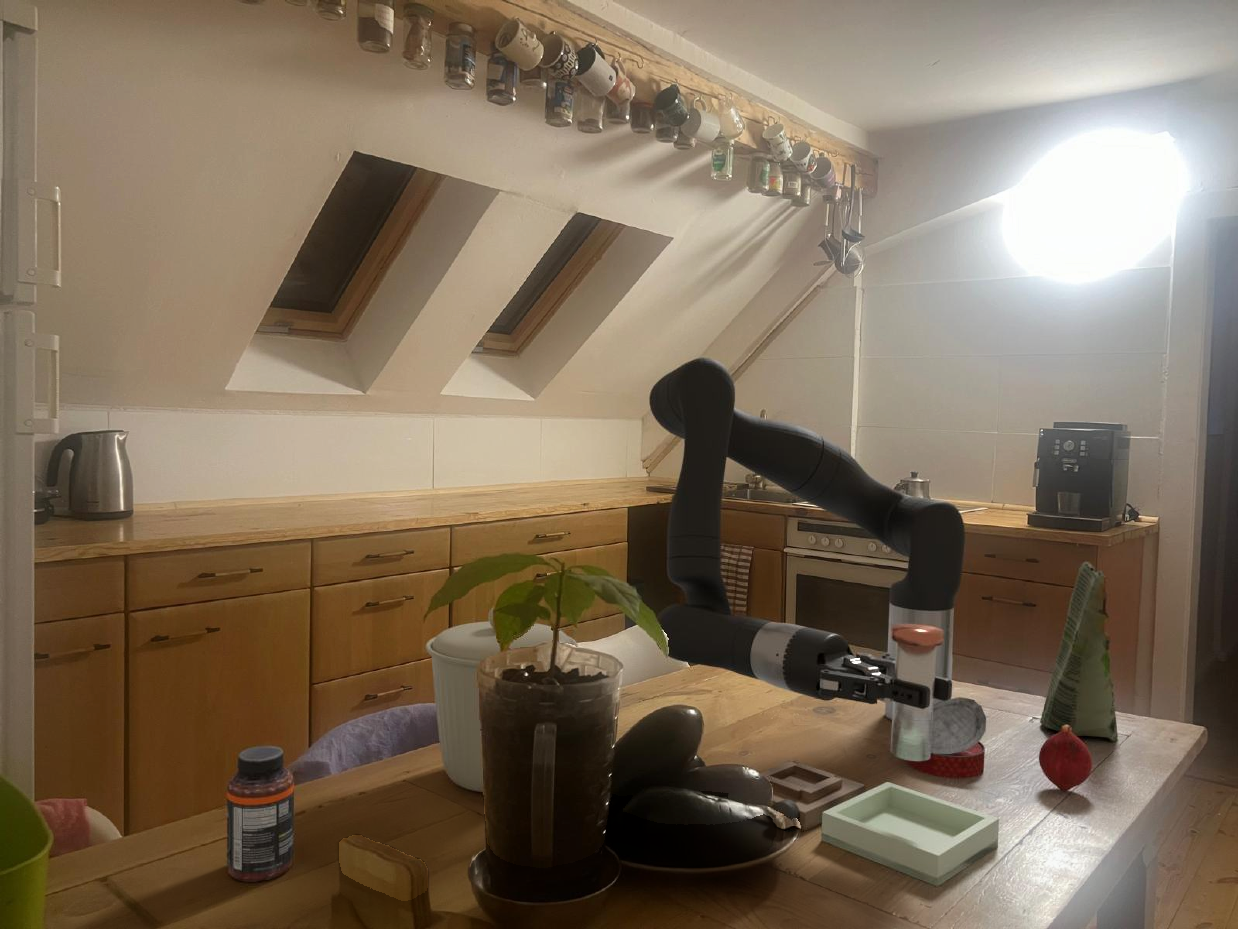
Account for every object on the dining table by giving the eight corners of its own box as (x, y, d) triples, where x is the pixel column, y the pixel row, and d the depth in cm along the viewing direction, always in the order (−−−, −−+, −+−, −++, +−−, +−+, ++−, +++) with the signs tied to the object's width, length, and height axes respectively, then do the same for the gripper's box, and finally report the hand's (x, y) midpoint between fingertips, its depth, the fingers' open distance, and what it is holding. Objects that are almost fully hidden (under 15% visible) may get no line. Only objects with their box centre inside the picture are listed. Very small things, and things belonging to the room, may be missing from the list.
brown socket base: (793, 777, 116) (794, 753, 116) (864, 802, 109) (865, 776, 108) (722, 805, 106) (723, 780, 106) (795, 835, 99) (796, 807, 99)
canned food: (983, 810, 119) (1006, 755, 114) (903, 797, 119) (923, 743, 114) (965, 743, 129) (986, 690, 124) (892, 732, 129) (909, 678, 124)
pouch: (1072, 716, 144) (1080, 555, 143) (1145, 741, 133) (1154, 566, 132) (1020, 725, 139) (1028, 558, 138) (1091, 751, 128) (1100, 570, 127)
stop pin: (900, 742, 101) (907, 621, 101) (945, 755, 97) (952, 630, 97) (875, 752, 98) (881, 627, 97) (920, 767, 94) (927, 637, 93)
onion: (1096, 802, 110) (1099, 735, 110) (1044, 797, 111) (1047, 731, 111) (1082, 784, 116) (1085, 720, 116) (1032, 779, 117) (1035, 716, 117)
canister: (575, 752, 122) (579, 593, 121) (573, 809, 104) (578, 622, 103) (436, 751, 122) (439, 590, 121) (410, 808, 104) (413, 619, 103)
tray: (886, 807, 107) (887, 781, 107) (997, 846, 98) (999, 818, 98) (821, 840, 98) (822, 812, 98) (937, 886, 89) (938, 855, 89)
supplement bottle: (238, 855, 91) (239, 741, 91) (300, 854, 92) (301, 741, 91) (217, 885, 85) (218, 763, 85) (283, 884, 86) (285, 763, 86)
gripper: (763, 635, 102) (905, 668, 90) (836, 619, 112) (973, 648, 100) (760, 702, 103) (901, 745, 90) (833, 681, 113) (970, 717, 100)
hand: (938, 694), depth 95 cm, fingers closed on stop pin, 4 cm apart
